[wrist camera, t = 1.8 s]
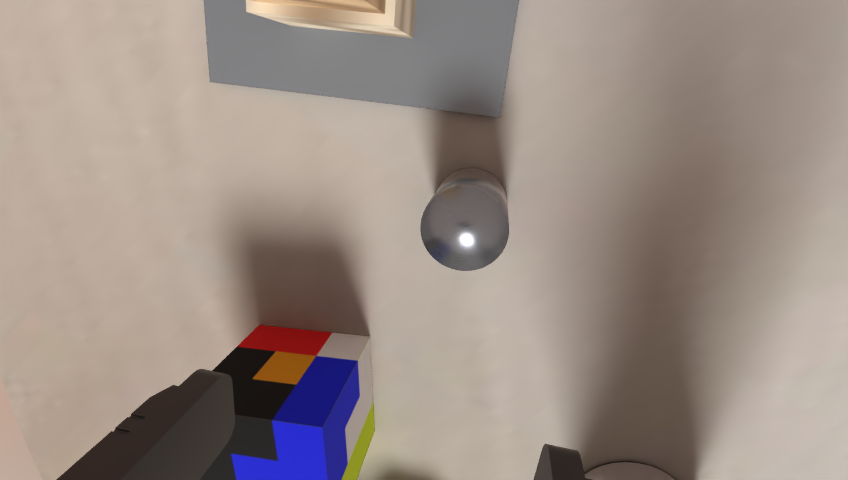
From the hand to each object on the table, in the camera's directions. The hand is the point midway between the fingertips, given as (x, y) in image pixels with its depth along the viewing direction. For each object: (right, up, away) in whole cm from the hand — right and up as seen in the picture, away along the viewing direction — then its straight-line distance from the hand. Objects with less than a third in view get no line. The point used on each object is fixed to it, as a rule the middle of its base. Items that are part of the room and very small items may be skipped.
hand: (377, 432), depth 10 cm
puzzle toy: (-8, -7, +27) cm, 29 cm away
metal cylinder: (+4, +7, +19) cm, 20 cm away
